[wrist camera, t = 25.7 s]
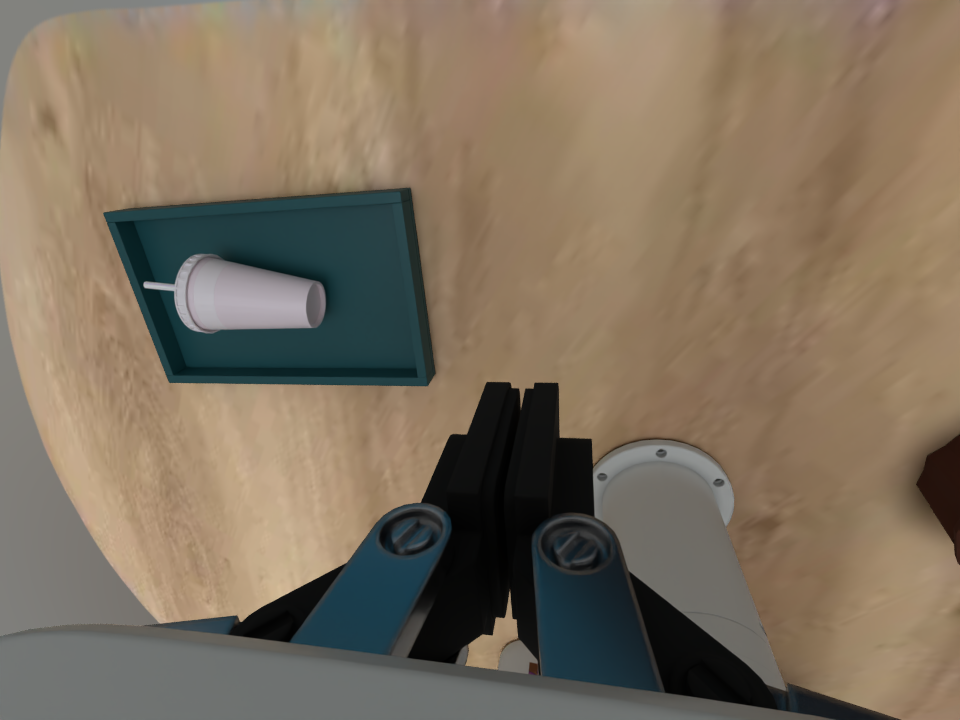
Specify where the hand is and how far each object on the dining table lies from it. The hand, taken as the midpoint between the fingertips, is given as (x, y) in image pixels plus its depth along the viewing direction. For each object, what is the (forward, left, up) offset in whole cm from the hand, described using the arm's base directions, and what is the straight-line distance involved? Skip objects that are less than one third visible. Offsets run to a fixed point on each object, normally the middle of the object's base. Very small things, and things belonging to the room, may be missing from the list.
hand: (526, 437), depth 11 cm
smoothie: (-4, +19, -24) cm, 31 cm away
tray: (-4, +24, -27) cm, 36 cm away
